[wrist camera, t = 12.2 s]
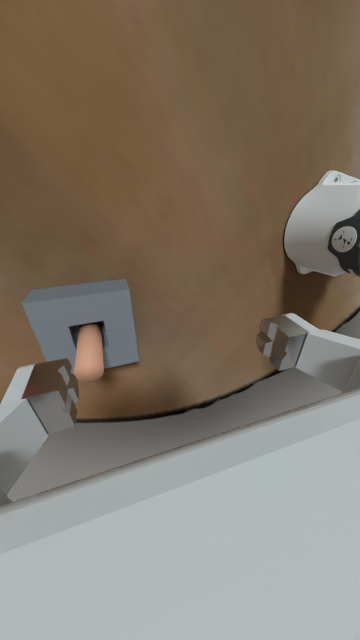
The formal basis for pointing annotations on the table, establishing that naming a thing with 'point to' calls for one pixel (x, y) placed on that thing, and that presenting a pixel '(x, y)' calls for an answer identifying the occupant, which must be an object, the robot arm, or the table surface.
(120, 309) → the socket block
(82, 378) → the peg
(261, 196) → the table surface
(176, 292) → the table surface
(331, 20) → the table surface
